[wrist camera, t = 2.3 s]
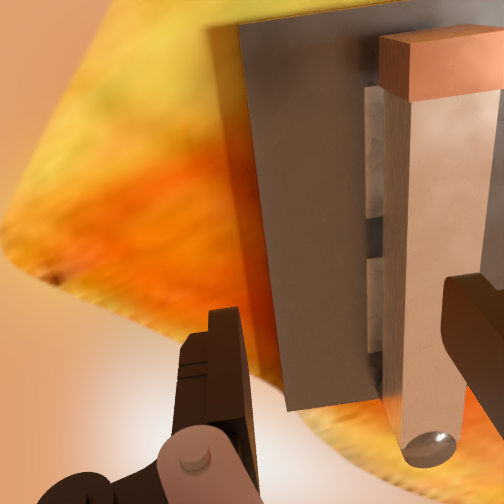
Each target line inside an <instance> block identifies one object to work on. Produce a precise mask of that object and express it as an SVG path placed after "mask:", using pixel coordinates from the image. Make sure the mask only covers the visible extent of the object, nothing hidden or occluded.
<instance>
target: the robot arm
mask: <svg viewBox="0 0 504 504" xmlns="http://www.w3.org/2000/svg"><path fill="white" fill-rule="evenodd" d="M440 330H441V338H442V342H443V345H444V348H445V350H446V352H447V354H448V355H449V357H450V358H451V360H452V361H453V363H454V364H455V366H456V367H457V369H458V370H459V372H460V374H461V375H462V377H463V378H464V380H465V381H466V383H467V384H468V386H469V387H470V389H471V391H472V392H473V394H474V395H475V397H476V398H477V400H478V401H479V403H480V404H481V406H482V407H483V409H484V411H485V412H486V414H487V415H488V417H489V418H490V420H491V421H492V423H493V424H494V426H495V428H496V429H497V431H498V432H499V434H500V435H501V437H502V438H503V440H504V289H503V290H497V289H496V288H495V287H494V286H493V285H492V284H491V283H490V282H489V281H488V280H487V279H486V278H485V277H484V276H483V275H482V274H481V273H478V272H477V273H470V274H463V275H456V276H449V277H447V278H446V279H445V281H444V286H443V299H442V312H441V325H440ZM177 380H178V382H177V386H176V396H175V406H174V416H173V426H172V434H171V437H170V438H169V439H168V440H167V441H166V442H165V443H164V445H163V446H162V448H161V450H160V452H159V454H158V458H157V459H156V460H155V461H154V462H153V463H151V464H150V465H148V466H147V467H145V468H144V469H142V470H140V471H138V472H136V473H134V474H131V475H129V476H127V477H125V478H122V479H120V480H118V481H115V482H113V483H110V481H109V480H108V479H107V478H106V477H104V476H103V475H101V474H98V473H94V472H82V473H77V474H74V475H71V476H68V477H66V478H64V479H62V480H61V481H59V482H57V483H56V484H55V485H54V486H52V487H51V488H50V489H49V490H48V491H47V492H46V493H45V494H44V495H43V496H42V497H41V498H40V500H39V501H38V503H37V504H264V503H263V501H262V499H261V497H260V489H259V478H258V467H257V455H256V444H255V433H254V423H253V410H252V399H251V388H250V378H249V369H248V361H247V355H246V349H245V343H244V337H243V331H242V325H241V319H240V314H239V309H238V306H237V307H230V308H223V309H216V310H209V316H208V331H206V332H199V333H192V334H190V335H189V336H188V338H187V339H186V341H185V342H184V344H183V345H182V347H181V348H180V356H179V368H178V376H177Z"/></svg>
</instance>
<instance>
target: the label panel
mask: <svg viewBox="0 0 504 504" xmlns="http://www.w3.org/2000/svg"><path fill="white" fill-rule="evenodd" d="M460 24H475V25H484V26H493V27H502V28H504V0H397V1H390V2H383V3H376V4H369V5H362V6H356V7H349V8H342V9H335V10H328V11H321V12H314V13H307V14H300V15H293V16H286V17H279V18H272V19H265V20H258V21H251V22H244V23H237V26H238V34H239V42H240V49H241V57H242V65H243V73H244V81H245V89H246V97H247V105H248V112H249V120H250V128H251V136H252V144H253V152H254V160H255V168H256V175H257V183H258V191H259V199H260V207H261V215H262V223H263V231H264V238H265V246H266V254H267V262H268V270H269V278H270V286H271V293H272V301H273V309H274V317H275V325H276V333H277V341H278V349H279V356H280V364H281V372H282V380H283V388H284V396H285V402H286V408H287V412H290V411H297V410H304V409H311V408H318V407H325V406H332V405H339V404H346V403H353V402H360V401H367V400H374V399H380V398H379V395H378V388H379V385H380V383H381V382H382V379H383V163H384V89H383V88H381V87H380V86H379V36H383V35H390V34H397V33H404V32H411V31H418V30H425V29H432V28H439V27H446V26H453V25H460ZM479 273H481V274H482V275H483V276H484V277H485V278H486V279H487V280H488V281H489V282H490V283H491V284H492V285H493V286H494V287H495V288H496V289H497V290H503V289H504V89H501V91H500V100H499V108H498V117H497V125H496V134H495V143H494V151H493V160H492V169H491V177H490V186H489V195H488V203H487V212H486V220H485V229H484V238H483V246H482V255H481V264H480V272H479ZM466 386H468V384H466Z"/></svg>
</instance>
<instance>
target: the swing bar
mask: <svg viewBox="0 0 504 504" xmlns="http://www.w3.org/2000/svg"><path fill="white" fill-rule="evenodd" d="M379 86H380V87H381V88H383V89H384V163H383V379H382V382H381V383H380V385H379V388H378V395H379V398H380V400H381V403H382V405H383V408H384V410H385V413H386V415H387V418H388V420H389V423H390V425H391V427H392V430H393V432H394V435H395V437H396V440H397V442H398V445H399V447H400V450H401V452H402V454H403V457H404V459H405V461H406V462H407V463H408V464H409V465H411V466H413V467H416V468H431V467H435V466H438V465H440V464H442V463H444V462H445V461H447V460H448V459H449V458H450V457H451V456H452V455H453V454H454V452H455V450H456V441H460V436H461V427H462V419H463V410H464V402H465V393H466V384H467V383H466V381H465V380H464V378H463V377H462V375H461V374H460V372H459V370H458V369H457V367H456V366H455V364H454V363H453V361H452V360H451V358H450V357H449V355H448V354H447V352H446V350H445V348H444V345H443V342H442V338H441V330H440V325H441V312H442V299H443V286H444V281H445V279H446V278H447V277H449V276H456V275H463V274H470V273H477V272H478V273H479V272H480V264H481V255H482V246H483V238H484V229H485V220H486V212H487V203H488V195H489V186H490V177H491V169H492V160H493V151H494V143H495V134H496V125H497V117H498V108H499V100H500V91H501V89H504V28H502V27H493V26H484V25H475V24H460V25H453V26H446V27H439V28H432V29H425V30H418V31H411V32H404V33H397V34H390V35H383V36H379Z"/></svg>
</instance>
